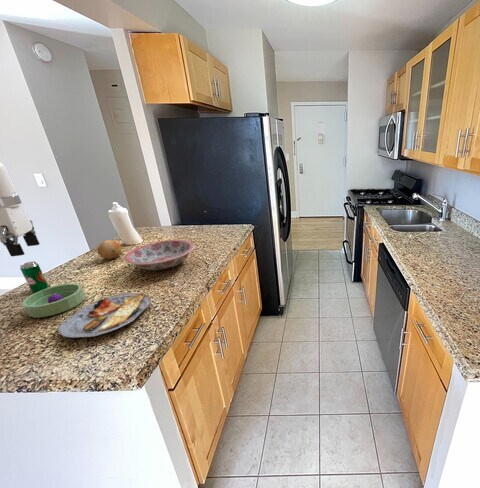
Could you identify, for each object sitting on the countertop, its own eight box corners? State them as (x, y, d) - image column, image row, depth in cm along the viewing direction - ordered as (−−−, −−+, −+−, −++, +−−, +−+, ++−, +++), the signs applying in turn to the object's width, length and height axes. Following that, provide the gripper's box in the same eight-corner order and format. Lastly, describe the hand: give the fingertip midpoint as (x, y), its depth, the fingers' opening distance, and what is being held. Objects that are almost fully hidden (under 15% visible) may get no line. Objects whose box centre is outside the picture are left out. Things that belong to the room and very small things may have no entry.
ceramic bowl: (176, 249, 147) (173, 236, 144) (209, 260, 133) (206, 246, 130) (117, 270, 124) (112, 254, 121) (149, 286, 110) (144, 269, 107)
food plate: (101, 298, 102) (98, 291, 100) (162, 296, 103) (160, 288, 102) (41, 345, 79) (36, 336, 77) (121, 341, 80) (118, 332, 79)
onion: (109, 263, 131) (103, 245, 127) (96, 260, 134) (89, 242, 130) (128, 255, 139) (123, 238, 136) (115, 253, 142) (109, 236, 139)
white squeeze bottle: (132, 246, 151) (119, 204, 142) (114, 246, 151) (100, 204, 142) (145, 239, 162) (134, 200, 153) (129, 239, 162) (116, 200, 153)
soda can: (28, 292, 107) (15, 265, 102) (43, 285, 111) (31, 260, 107) (37, 293, 105) (24, 267, 101) (52, 287, 110) (40, 261, 105)
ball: (48, 308, 95) (43, 299, 93) (53, 302, 98) (48, 293, 97) (62, 305, 96) (57, 296, 95) (66, 300, 100) (62, 291, 98)
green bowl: (18, 323, 88) (11, 311, 86) (41, 299, 101) (36, 288, 99) (76, 311, 94) (71, 300, 92) (91, 290, 107) (87, 280, 105)
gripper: (4, 198, 90) (25, 243, 97) (-34, 209, 76) (-5, 262, 82) (33, 196, 93) (52, 240, 99) (2, 206, 78) (27, 257, 85)
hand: (26, 250), depth 91 cm, fingers open, 9 cm apart
